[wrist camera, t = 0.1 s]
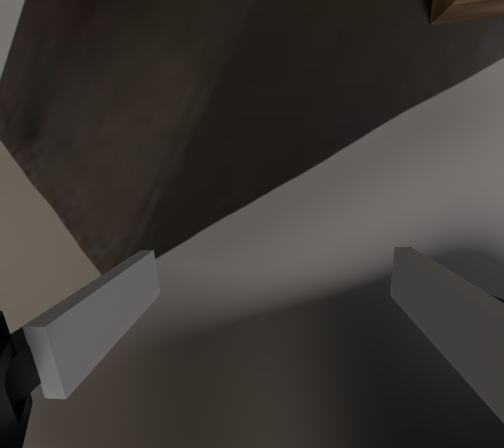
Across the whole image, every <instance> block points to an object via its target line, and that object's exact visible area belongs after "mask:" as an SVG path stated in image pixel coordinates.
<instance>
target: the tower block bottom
mask: <svg viewBox="0 0 504 448" xmlns="http://www.w3.org/2000/svg"><path fill="white" fill-rule="evenodd" d="M500 16H504V0H480V1H473V2H465V3H457V4H452V0H432V9H431V19H430V24H439V23H448V22H457V21H465V20H474V19H483V18H492V17H500Z"/></svg>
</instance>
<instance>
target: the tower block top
mask: <svg viewBox="0 0 504 448" xmlns="http://www.w3.org/2000/svg"><path fill="white" fill-rule="evenodd" d="M473 1H480V0H452V4H457V3H465V2H473Z"/></svg>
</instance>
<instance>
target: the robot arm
mask: <svg viewBox="0 0 504 448" xmlns="http://www.w3.org/2000/svg"><path fill="white" fill-rule="evenodd" d="M159 294H160V289H159V282H158V277H157V269H156V263H155V257H154V250H144V251H139V252H138V253H136V254H135V255H133V256H132V257H130V258H128V259H127V260H125V261H124V262H122V263H121V264H119V265H117V266H116V267H114V268H113V269H111V270H110V271H108V272H107V273H105V274H103V275H102V276H100V277H99V278H97V279H96V280H94V281H92V282H91V283H89V284H88V285H86V286H85V287H83V288H81V289H80V290H78V291H77V292H75V293H74V294H72V295H71V296H69V297H67V298H66V299H65V300H63V301H61V302H60V303H58V304H56V305H55V306H53V307H52V308H50V309H49V310H47V311H46V312H44V313H42V314H41V315H40V316H38V317H36V318H34V319H33V320H31V321H30V322H28V323H27V324H25V325H24V326H22V327H21V328H20V329H18V330H16V331H15V332H13V333H12V334H10V332H9V329H8V326H7V323H6V321H5V317H4V315H3V312H2V311H0V448H22V447H23V442H24V439H25V434H26V430H27V425H28V421H29V416H30V412H31V407H32V397H31V394H30V393H31V392H32V391H33V390H34V389H35V388H36V387H37V386H38V385H39V384H41V387H42V390H43V392H44V396H45V398H55V399H67V398H68V397H69V395H70V394H71V393H72V392H73V391H74V390H75V389H76V388H77V386H78V385H79V384H80V383H81V382H82V381H83V380H84V379H85V377H86V376H87V375H88V374H89V373H90V372H91V371H92V370H93V368H94V367H95V366H96V365H97V364H98V363H99V362H100V361H101V359H102V358H103V357H104V356H105V355H106V354H107V353H108V352H109V350H110V349H111V348H112V347H113V346H114V345H115V344H116V343H117V341H118V340H119V339H120V338H121V337H122V336H123V335H124V334H125V333H126V331H127V330H128V329H129V328H130V327H131V326H132V325H133V324H134V322H135V321H136V320H137V319H138V318H139V317H140V316H141V315H142V314H143V312H144V311H145V310H146V309H147V308H148V307H149V306H150V305H151V303H152V302H153V301H154V300H155V299H156V298H157V297H158V295H159ZM390 295H391V297H392V298H393V299H394V300H395V301H396V302H397V303H398V304H399V305H400V307H401V308H402V309H403V310H404V311H405V312H406V313H407V315H408V316H409V317H410V318H411V319H412V320H413V321H414V323H415V324H416V325H417V326H418V327H419V328H420V329H421V330H422V332H424V334H425V335H426V336H427V337H428V338H429V339H430V340H431V342H432V343H433V344H434V345H435V346H436V347H437V348H438V350H439V351H440V352H441V353H442V354H443V355H444V356H445V357H446V358H447V360H448V361H449V362H450V363H451V364H452V365H453V366H454V368H455V369H456V370H457V371H458V372H459V373H460V374H461V375H462V377H463V378H464V379H465V380H466V381H467V382H468V383H469V385H470V386H471V387H472V388H473V389H474V390H475V391H476V392H477V394H478V395H479V396H480V397H481V398H482V399H483V400H484V402H485V403H486V404H487V405H488V406H489V407H490V408H491V409H492V410H493V412H494V413H495V414H496V415H497V416H498V417H499V418H500V420H501V421H502V422H503V423H504V300H502V299H500V298H497V297H495V296H492V295H490V294H488V293H486V292H485V291H483V290H481V289H480V288H478V287H476V286H475V285H473V284H471V283H470V282H468V281H466V280H465V279H463V278H461V277H460V276H458V275H456V274H455V273H453V272H451V271H450V270H448V269H447V268H445V267H443V266H442V265H440V264H438V263H437V262H435V261H433V260H432V259H430V258H428V257H426V256H425V255H423V254H422V253H420V252H418V251H417V250H415V249H413V248H412V247H395V252H394V261H393V273H392V281H391V291H390Z"/></svg>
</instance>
